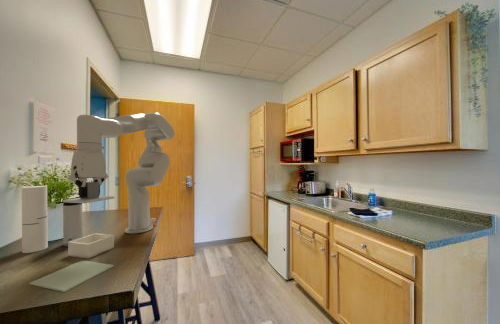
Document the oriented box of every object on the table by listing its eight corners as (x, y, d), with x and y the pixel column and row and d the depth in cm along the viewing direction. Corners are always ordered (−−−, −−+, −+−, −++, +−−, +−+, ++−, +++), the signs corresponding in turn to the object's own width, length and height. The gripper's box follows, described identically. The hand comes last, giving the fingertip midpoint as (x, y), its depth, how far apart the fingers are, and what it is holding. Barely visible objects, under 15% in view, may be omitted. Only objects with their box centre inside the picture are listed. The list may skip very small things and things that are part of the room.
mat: (82, 261, 71) (82, 260, 71) (113, 266, 67) (113, 265, 67) (29, 284, 58) (29, 282, 58) (64, 292, 54) (64, 290, 54)
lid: (93, 197, 85) (93, 181, 85) (114, 198, 82) (114, 181, 82) (62, 202, 74) (62, 183, 74) (84, 203, 71) (84, 183, 71)
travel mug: (72, 247, 84) (71, 198, 84) (59, 246, 85) (58, 197, 85) (87, 241, 90) (86, 195, 90) (74, 240, 91) (74, 195, 92)
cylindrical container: (52, 246, 85) (51, 185, 85) (28, 254, 78) (28, 187, 78) (41, 244, 87) (40, 185, 87) (17, 251, 80) (17, 187, 81)
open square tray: (95, 245, 86) (95, 233, 86) (114, 247, 83) (113, 235, 83) (68, 255, 76) (68, 242, 76) (88, 258, 73) (88, 244, 73)
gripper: (103, 150, 87) (103, 193, 87) (56, 147, 71) (56, 200, 71) (117, 149, 85) (117, 194, 85) (72, 146, 69) (72, 200, 69)
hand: (89, 196), depth 78 cm, fingers closed on lid, 4 cm apart
